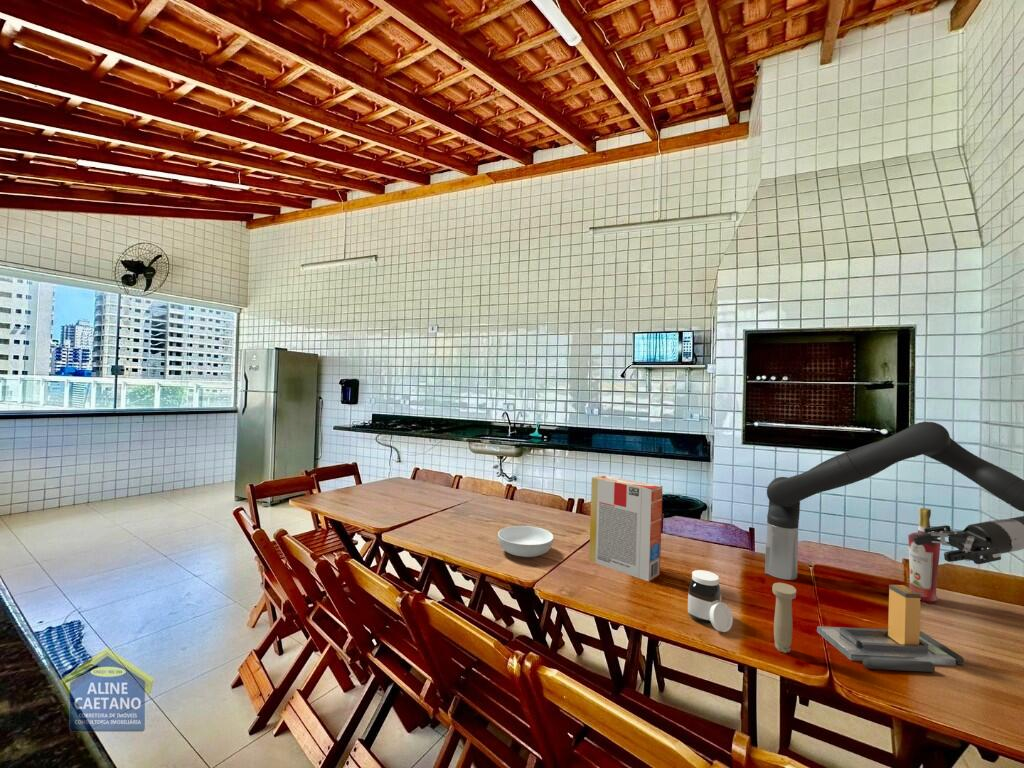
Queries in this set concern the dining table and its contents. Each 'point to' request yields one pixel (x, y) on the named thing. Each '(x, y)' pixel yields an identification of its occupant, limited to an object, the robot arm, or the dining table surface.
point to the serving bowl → (525, 540)
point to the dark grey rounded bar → (943, 648)
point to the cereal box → (626, 526)
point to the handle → (783, 616)
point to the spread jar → (708, 601)
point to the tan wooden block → (904, 615)
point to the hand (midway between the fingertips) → (929, 548)
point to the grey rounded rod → (899, 665)
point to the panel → (881, 646)
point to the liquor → (923, 561)
